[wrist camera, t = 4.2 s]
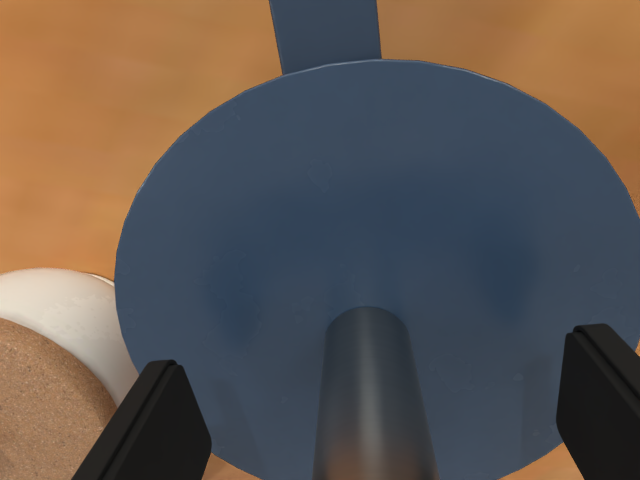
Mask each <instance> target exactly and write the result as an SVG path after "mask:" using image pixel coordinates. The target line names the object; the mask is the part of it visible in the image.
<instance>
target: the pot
mask: <svg viewBox="0 0 640 480" xmlns="http://www.w3.org/2000/svg"><path fill="white" fill-rule="evenodd" d="M269 4H270V10H271V15H272V20H273V26H274V31H275V37H276V42H277V47H278V53H279V58H280V64H281V69H282V74H283V75H284V74H288V73H292V72H296V71H300V70H304V69H308V68H312V67H316V66H320V65H324V64H328V63H336V62H345V61H355V60H365V59H382V57H381V46H380V35H379V24H378V12H377V1H376V0H269Z"/></svg>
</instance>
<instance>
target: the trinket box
mask: <svg viewBox="0 0 640 480" xmlns="http://www.w3.org/2000/svg"><path fill="white" fill-rule="evenodd" d="M138 377H139V374H138V372H137V370H136V368H135V366H134V365H133V363H132V361H131V358H130V356H129V353H128V350H127V348H126V345H125V342H124V340H123V337H122V334H121V329H120V325H119V320H118V316H117V311H116V302H115V287H114V282H112V281H110V280H108V279H106V278H103V277H100V276H97V275H94V274H88V273H82V272H78V271H75V270H69V269H63V268H30V269H22V270H16V271H10V272H6V273H3V274H0V480H71V479H72V477H73V476H74V474H75V473H76V471H77V469H78V468H79V466H80V465H81V463H82V462H83V460H84V459H85V457H86V456H87V454H88V453H89V451H90V450H91V448H92V447H93V445H94V444H95V442H96V441H97V439H98V438H99V436H100V435H101V433H102V431H103V430H104V428H105V427H106V425H107V424H108V422H109V421H110V419H111V418H112V416H113V415H114V413H115V412H116V410H117V409H118V407H119V406H120V404H121V403H122V401H123V400H124V398H125V396H126V395H127V393H128V392H129V390H130V389H131V387H132V386H133V384H134V383H135V381H136V380H137V378H138Z"/></svg>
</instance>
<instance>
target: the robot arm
mask: <svg viewBox="0 0 640 480" xmlns="http://www.w3.org/2000/svg"><path fill="white" fill-rule="evenodd" d="M556 425H557V429H558V431H559V434H560V436H561V438H562V440H563V442H564V443H565V445H566V447H567V449H568V451H569V452H570V454H571V456H572V458H573V460H574V462H575V463H576V465H577V467H578V469H579V471H580V472H581V474H582V476H583V478H584V480H640V357H639V356H638V355H637V354H636V353H635V352H634V351H633V349H632V348H631V347H630V346H629V345H628V344H627V343H626V342H625V341H624V340H623V339H622V338H621V337H620V336H619V335H618V334H617V333H616V332H615V331H614V330H613V329H612V328H611V327H610V326H609V325H608V324H605V323H600V324H588V325H577V326H575V327H574V329H573V332H572V333H567V334H566V337H565V344H564V353H563V361H562V370H561V378H560V387H559V396H558V404H557V413H556ZM211 448H212V440H211V436H210V434H209V431H208V429H207V426H206V423H205V421H204V418H203V416H202V413H201V411H200V408H199V406H198V403H197V400H196V398H195V395H194V393H193V390H192V388H191V385H190V383H189V380H188V378H187V375H186V372H185V370H184V368H183V366H182V365H178V364H177V362H176V361H175V360H172V359H170V360H158V361H151V362H149V363H148V364H147V365H146V366H145V368H144V369H143V371H142V372H141V374H140V375H139V377H138V378H137V380H136V381H135V383H134V384H133V386H132V387H131V389H130V390H129V392H128V393H127V395H126V396H125V398H124V400H123V401H122V403H121V404H120V406H119V407H118V409H117V410H116V412H115V413H114V415H113V416H112V418H111V419H110V421H109V422H108V424H107V425H106V427H105V428H104V430H103V431H102V433H101V435H100V436H99V438H98V439H97V441H96V442H95V444H94V445H93V447H92V448H91V450H90V451H89V453H88V454H87V456H86V457H85V459H84V460H83V462H82V463H81V465H80V466H79V468H78V469H77V471H76V473H75V474H74V476H73V477H72V479H71V480H201V479H202V476H203V474H204V471H205V468H206V465H207V462H208V459H209V456H210V453H211Z"/></svg>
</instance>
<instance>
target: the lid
mask: <svg viewBox="0 0 640 480" xmlns="http://www.w3.org/2000/svg"><path fill="white" fill-rule="evenodd" d="M114 287H115V302H116V311H117V316H118V320H119V325H120V329H121V334H122V337H123V340H124V342H125V345H126V348H127V350H128V353H129V356H130V358H131V361H132V363H133V365H134V366H135V368H136V370H137V372H138V374H139V375H140V374H141V372H142V371H143V369H144V368H145V366H146V365H147V364H148V363H149V362H151V361H158V360H170V359H172V360H175V361H176V362H177V364H178V365H182V366H183V368H184V370H185V372H186V375H187V378H188V380H189V383H190V385H191V388H192V390H193V393H194V395H195V398H196V400H197V403H198V406H199V408H200V411H201V413H202V416H203V418H204V421H205V423H206V426H207V429H208V431H209V434H210V436H211V440H212V448H211V452H212V453H213V454H215V455H216V456H218V457H219V458H221V459H223V460H225V461H226V462H228V463H230V464H231V465H233V466H235V467H237V468H238V469H241V470H243V471H245V472H247V473H249V474H251V475H254V476H256V477H258V478H260V479H262V480H497V479H500V478H502V477H504V476H506V475H509V474H511V473H513V472H515V471H518V470H520V469H522V468H524V467H525V466H527V465H529V464H531V463H532V462H534V461H536V460H538V459H539V458H541V457H543V456H545V455H546V454H547V453H549V452H550V451H552V450H553V449H554V448H556V447H557V446H559V445H560V444H561V443H563V440H562V438H561V436H560V434H559V431H558V429H557V425H556V413H557V404H558V396H559V387H560V378H561V370H562V361H563V353H564V344H565V337H566V334H567V333H572V332H573V329H574V327H575V326H577V325H588V324H600V323H605V324H608V325H609V326H610V327H611V328H612V329H613V330H614V331H615V332H616V333H617V334H618V335H619V336H620V337H621V338H622V339H623V340H624V341H625V342H626V343H627V344H628V345H629V346H630V347H631V348H632V349H633V351H634V352H635V350H636V348H637V346H638V342H639V339H640V218H639V216H638V214H637V211H636V209H635V207H634V204H633V202H632V200H631V197H630V195H629V193H628V190H627V188H626V187H625V185H624V184H623V182H622V181H621V179H620V178H619V176H618V175H617V173H616V172H615V170H614V169H613V167H612V166H611V164H610V162H609V161H608V159H607V158H606V157H605V156H604V155H603V154H602V152H601V151H600V150H599V149H598V148H597V147H596V146H595V145H594V144H593V143H592V142H591V141H590V140H589V139H588V138H587V137H586V136H585V135H584V133H583V132H582V131H581V130H580V129H579V128H577V127H576V126H575V125H573V124H572V123H571V122H569V121H568V120H567V119H565V118H564V117H563V116H561V115H560V114H559V113H557V112H556V111H555V110H553V109H552V108H551V107H550V106H548V105H547V104H545V103H543V102H542V101H540V100H538V99H536V98H534V97H532V96H530V95H528V94H526V93H524V92H523V91H521V90H519V89H517V88H515V87H513V86H511V85H509V84H507V83H504V82H502V81H499V80H496V79H493V78H490V77H487V76H484V75H481V74H478V73H475V72H473V71H470V70H467V69H463V68H457V67H452V66H447V65H441V64H436V63H430V62H425V61H419V60H394V59H365V60H355V61H345V62H336V63H328V64H324V65H320V66H316V67H312V68H308V69H304V70H300V71H296V72H292V73H288V74H284V75H282V76H280V77H277V78H275V79H272V80H270V81H267V82H265V83H263V84H260V85H258V86H255V87H253V88H250V89H248V90H245V91H244V92H242V93H240V94H239V95H237V96H235V97H234V98H232V99H230V100H229V101H227V102H225V103H223V104H222V105H220V106H218V107H217V108H215V109H213V110H212V111H210V112H209V113H208V114H206V115H205V116H204V117H203V118H201V119H200V120H199V121H198V122H197V123H195V124H194V125H193V126H192V127H190V128H189V129H188V130H187V131H186V132H184V133H183V134H182V135H181V136H180V137H179V138H178V139H177V140H176V141H175V142H174V143H173V144H172V146H171V147H170V148H169V149H168V150H167V151H166V152H165V153H164V154H163V156H162V157H161V158H160V159H159V160H158V161H157V162H156V164H155V165H154V167H153V168H152V170H151V171H150V173H149V174H148V176H147V178H146V179H145V181H144V182H143V184H142V185H141V187H140V188H139V190H138V192H137V194H136V196H135V198H134V201H133V203H132V205H131V207H130V210H129V212H128V214H127V217H126V219H125V221H124V225H123V229H122V233H121V237H120V241H119V245H118V249H117V254H116V265H115V276H114Z"/></svg>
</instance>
